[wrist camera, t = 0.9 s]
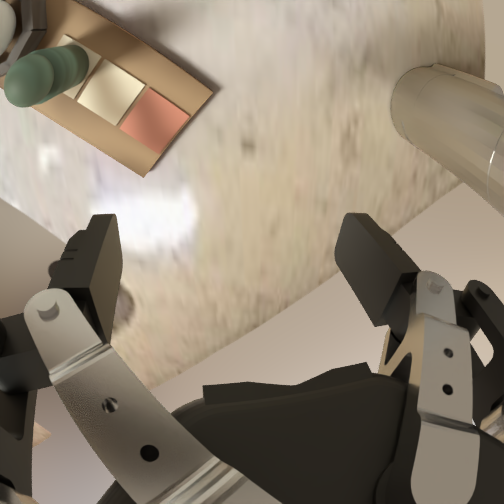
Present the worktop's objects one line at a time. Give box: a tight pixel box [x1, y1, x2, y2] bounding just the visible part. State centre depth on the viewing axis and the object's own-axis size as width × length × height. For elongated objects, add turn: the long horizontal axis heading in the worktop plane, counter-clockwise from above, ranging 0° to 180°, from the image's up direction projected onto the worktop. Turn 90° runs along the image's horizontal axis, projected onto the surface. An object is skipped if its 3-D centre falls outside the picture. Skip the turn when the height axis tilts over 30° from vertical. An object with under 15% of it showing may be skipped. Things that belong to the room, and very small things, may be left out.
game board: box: [0, 0, 213, 178], centre depth 18 cm, size 10×25×4 cm, turn 46°
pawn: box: [4, 45, 89, 107], centre depth 15 cm, size 4×4×9 cm
